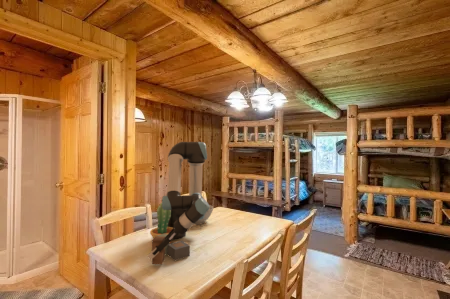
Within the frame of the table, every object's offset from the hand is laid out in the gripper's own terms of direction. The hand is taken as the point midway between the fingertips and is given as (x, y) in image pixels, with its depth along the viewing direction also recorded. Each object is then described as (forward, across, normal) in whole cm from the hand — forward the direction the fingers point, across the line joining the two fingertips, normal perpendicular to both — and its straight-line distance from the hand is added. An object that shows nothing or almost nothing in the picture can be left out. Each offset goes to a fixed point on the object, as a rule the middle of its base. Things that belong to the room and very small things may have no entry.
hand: (151, 255), depth 118 cm
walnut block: (0, 0, -5) cm, 5 cm away
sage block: (+2, +14, -5) cm, 15 cm away
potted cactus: (+6, +28, -3) cm, 29 cm away
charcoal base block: (-4, +12, -12) cm, 17 cm away
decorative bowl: (-5, +71, -14) cm, 73 cm away
